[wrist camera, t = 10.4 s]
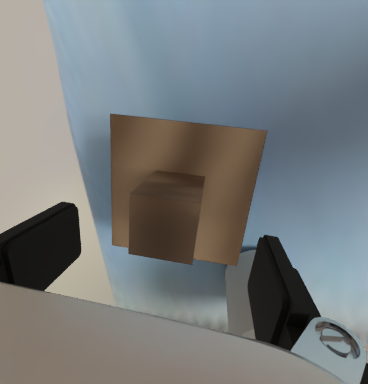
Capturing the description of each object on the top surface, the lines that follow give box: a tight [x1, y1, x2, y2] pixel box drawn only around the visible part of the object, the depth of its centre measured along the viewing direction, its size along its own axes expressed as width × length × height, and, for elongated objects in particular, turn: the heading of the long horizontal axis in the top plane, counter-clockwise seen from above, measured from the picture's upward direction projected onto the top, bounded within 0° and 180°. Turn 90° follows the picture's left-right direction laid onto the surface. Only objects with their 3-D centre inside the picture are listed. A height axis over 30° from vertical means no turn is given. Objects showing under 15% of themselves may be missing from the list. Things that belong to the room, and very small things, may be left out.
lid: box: [110, 114, 267, 266], centre depth 15 cm, size 12×12×7 cm
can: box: [225, 250, 256, 340], centre depth 20 cm, size 8×8×12 cm
